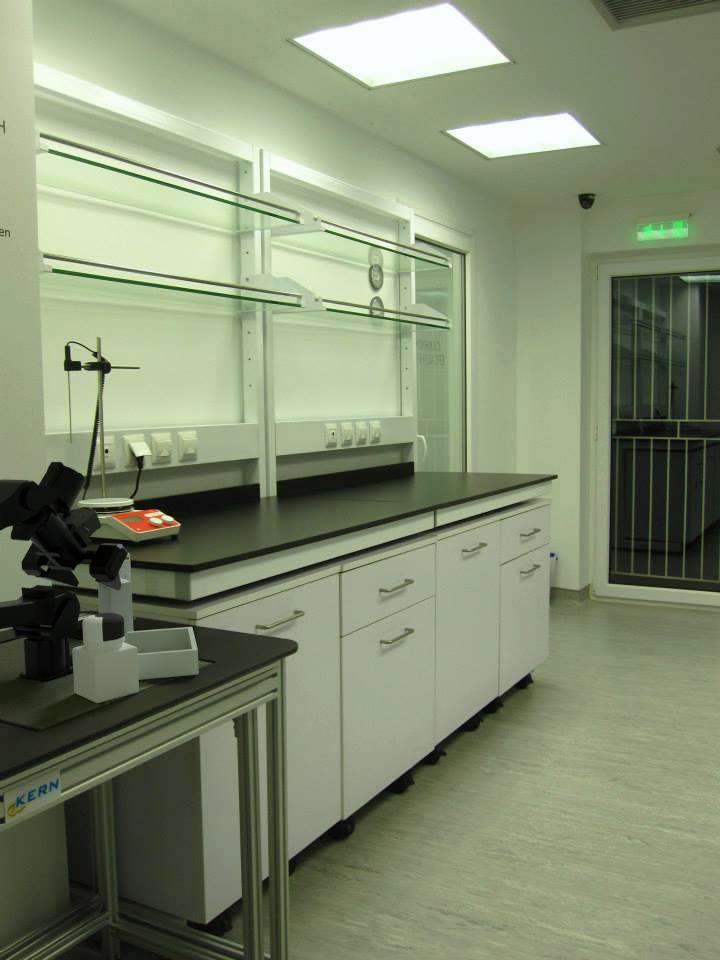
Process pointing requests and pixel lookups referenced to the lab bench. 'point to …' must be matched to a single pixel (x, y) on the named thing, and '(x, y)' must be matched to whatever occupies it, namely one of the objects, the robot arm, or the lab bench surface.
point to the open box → (165, 652)
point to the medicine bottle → (105, 660)
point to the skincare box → (118, 603)
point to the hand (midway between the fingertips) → (98, 586)
